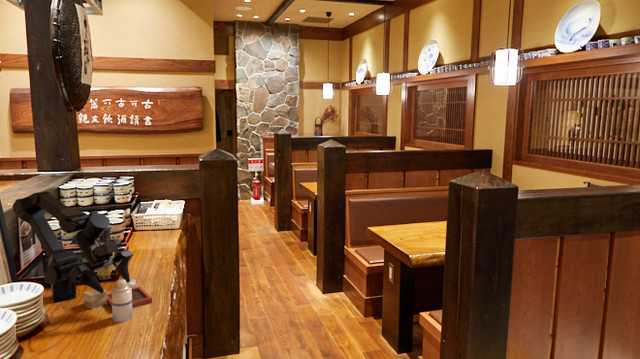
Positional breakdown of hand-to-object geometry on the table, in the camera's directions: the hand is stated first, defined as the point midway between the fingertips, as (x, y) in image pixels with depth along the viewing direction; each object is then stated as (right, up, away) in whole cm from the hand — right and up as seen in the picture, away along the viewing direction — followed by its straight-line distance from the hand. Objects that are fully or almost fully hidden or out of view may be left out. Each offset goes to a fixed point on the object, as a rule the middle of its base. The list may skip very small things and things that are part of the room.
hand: (116, 287), depth 131 cm
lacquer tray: (-2, -8, +12) cm, 14 cm away
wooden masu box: (-11, -8, +9) cm, 16 cm away
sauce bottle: (-19, -4, +31) cm, 37 cm away
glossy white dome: (-8, -6, +25) cm, 27 cm away
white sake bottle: (+2, -10, 0) cm, 10 cm away
